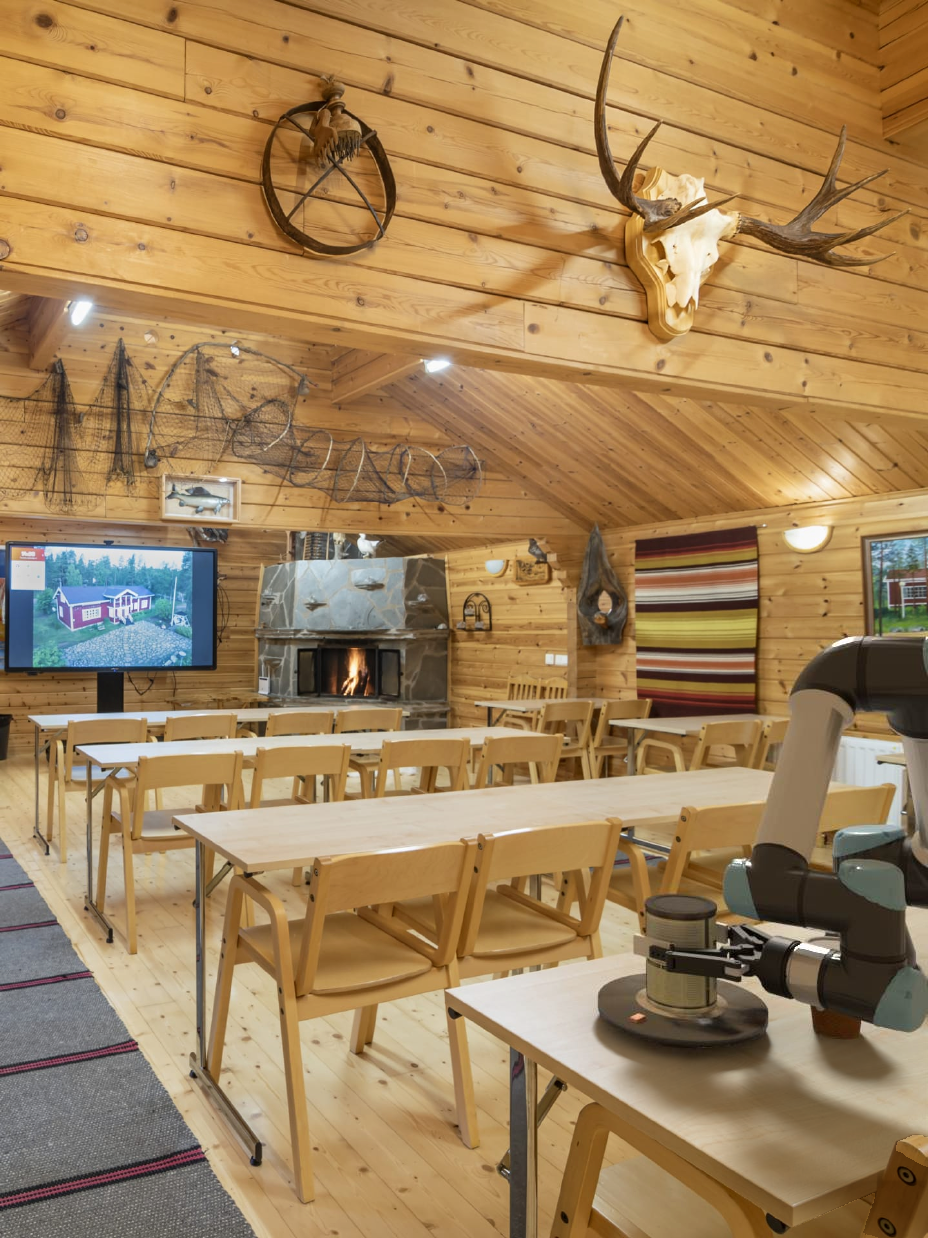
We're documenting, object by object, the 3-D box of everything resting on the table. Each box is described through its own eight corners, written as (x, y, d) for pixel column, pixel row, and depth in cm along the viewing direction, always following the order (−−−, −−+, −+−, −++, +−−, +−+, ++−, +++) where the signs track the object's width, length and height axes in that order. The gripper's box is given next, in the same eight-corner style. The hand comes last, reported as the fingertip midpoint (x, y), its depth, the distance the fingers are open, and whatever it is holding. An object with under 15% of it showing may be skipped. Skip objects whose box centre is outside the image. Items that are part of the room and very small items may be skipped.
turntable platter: (660, 971, 153) (660, 958, 153) (799, 1014, 135) (799, 999, 135) (563, 1009, 136) (564, 995, 136) (708, 1064, 119) (708, 1047, 119)
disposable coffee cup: (879, 1047, 129) (879, 959, 129) (806, 1040, 131) (806, 953, 131) (864, 1020, 138) (864, 938, 139) (796, 1014, 140) (796, 933, 140)
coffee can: (638, 988, 141) (637, 893, 141) (706, 988, 141) (705, 893, 142) (653, 1015, 131) (653, 912, 131) (727, 1014, 131) (726, 912, 131)
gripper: (749, 1025, 114) (610, 979, 130) (841, 977, 132) (708, 941, 147) (749, 963, 115) (610, 925, 130) (841, 923, 132) (709, 893, 147)
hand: (662, 933), depth 139 cm, fingers open, 13 cm apart
